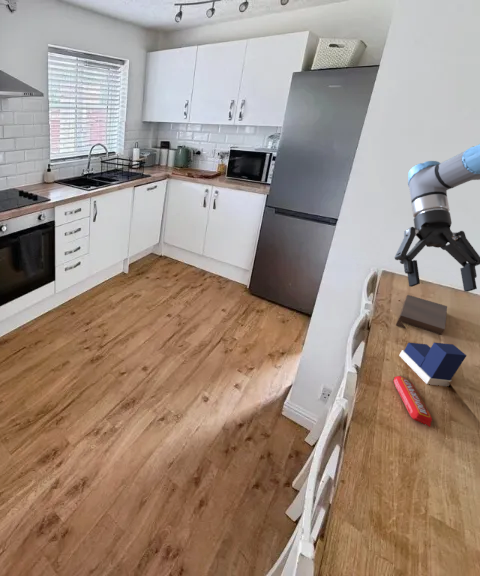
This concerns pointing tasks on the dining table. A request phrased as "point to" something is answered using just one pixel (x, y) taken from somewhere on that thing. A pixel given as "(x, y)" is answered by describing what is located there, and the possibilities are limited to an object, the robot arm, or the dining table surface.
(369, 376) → the dining table surface
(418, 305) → the shoe shelf
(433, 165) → the robot arm
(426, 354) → the two-tone navy white block
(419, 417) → the candy bar
